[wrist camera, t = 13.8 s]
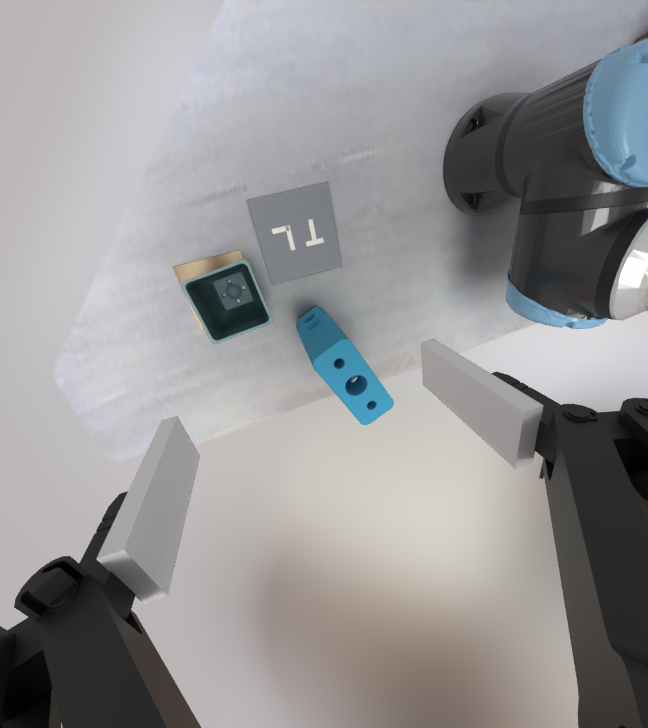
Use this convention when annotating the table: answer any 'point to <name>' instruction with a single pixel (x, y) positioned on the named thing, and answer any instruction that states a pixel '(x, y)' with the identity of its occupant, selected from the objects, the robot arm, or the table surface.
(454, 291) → the table surface
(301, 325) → the block
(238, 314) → the flower pot
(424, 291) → the table surface
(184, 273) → the cork mat
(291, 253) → the tile
